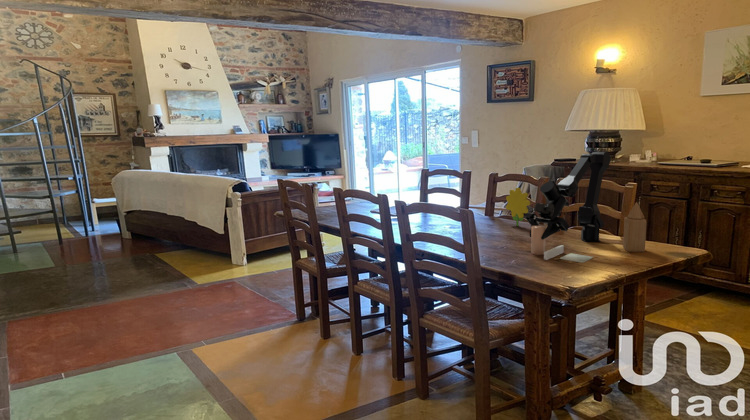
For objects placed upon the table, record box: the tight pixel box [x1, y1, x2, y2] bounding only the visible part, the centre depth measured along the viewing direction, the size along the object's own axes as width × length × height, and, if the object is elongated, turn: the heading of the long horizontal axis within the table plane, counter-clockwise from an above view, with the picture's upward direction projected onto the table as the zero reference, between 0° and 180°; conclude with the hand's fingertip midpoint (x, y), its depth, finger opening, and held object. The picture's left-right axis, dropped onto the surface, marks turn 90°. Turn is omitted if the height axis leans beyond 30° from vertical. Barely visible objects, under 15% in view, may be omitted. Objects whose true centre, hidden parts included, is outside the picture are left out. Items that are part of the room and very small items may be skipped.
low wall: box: [543, 244, 565, 261], centre depth 193 cm, size 14×1×3 cm, turn 133°
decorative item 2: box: [622, 201, 647, 253], centre depth 196 cm, size 7×7×20 cm
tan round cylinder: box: [530, 224, 547, 256], centre depth 198 cm, size 6×6×11 cm
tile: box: [559, 253, 594, 264], centre depth 189 cm, size 9×9×1 cm
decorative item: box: [505, 187, 531, 227], centre depth 252 cm, size 16×1×20 cm, turn 30°
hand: (535, 237), depth 197 cm, fingers closed on tan round cylinder, 5 cm apart
